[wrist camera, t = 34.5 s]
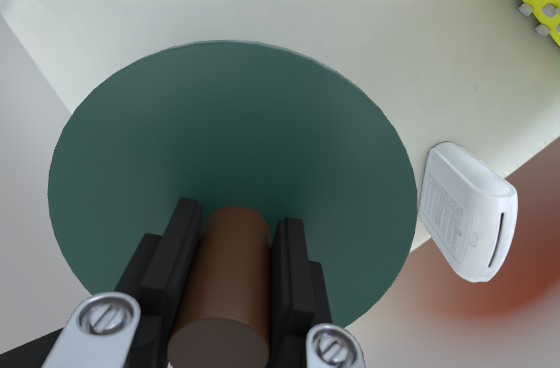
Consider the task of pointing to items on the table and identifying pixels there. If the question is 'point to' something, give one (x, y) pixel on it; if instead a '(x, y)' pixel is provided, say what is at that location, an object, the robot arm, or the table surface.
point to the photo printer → (467, 211)
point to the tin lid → (234, 186)
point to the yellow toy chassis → (544, 16)
